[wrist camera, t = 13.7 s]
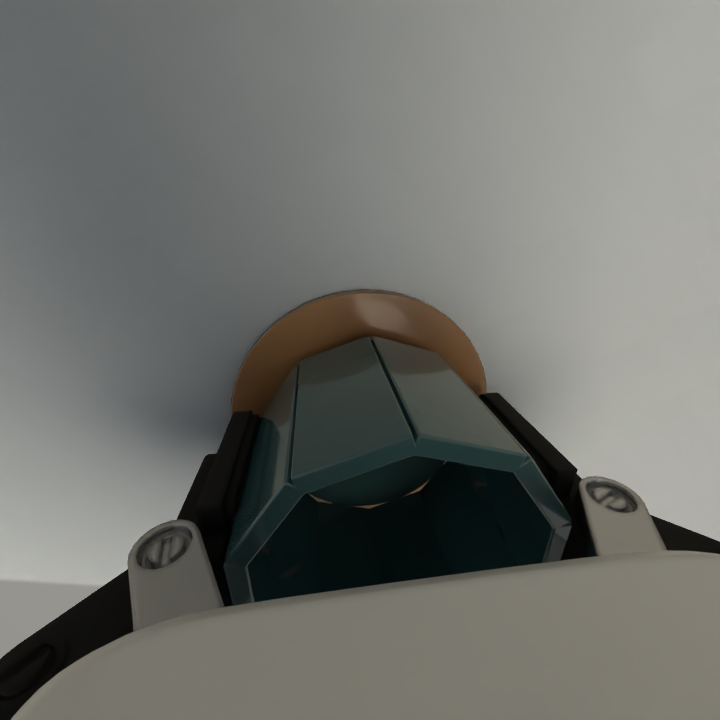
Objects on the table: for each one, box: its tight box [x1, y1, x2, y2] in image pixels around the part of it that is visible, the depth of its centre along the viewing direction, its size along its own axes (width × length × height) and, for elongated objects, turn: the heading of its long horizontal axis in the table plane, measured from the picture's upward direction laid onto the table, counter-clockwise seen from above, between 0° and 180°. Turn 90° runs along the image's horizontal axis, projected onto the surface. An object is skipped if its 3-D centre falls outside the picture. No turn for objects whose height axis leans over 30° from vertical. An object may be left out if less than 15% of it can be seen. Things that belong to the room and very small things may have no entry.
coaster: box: [231, 290, 487, 508], centre depth 12 cm, size 9×9×1 cm
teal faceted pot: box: [223, 336, 573, 606], centre depth 10 cm, size 7×7×6 cm
